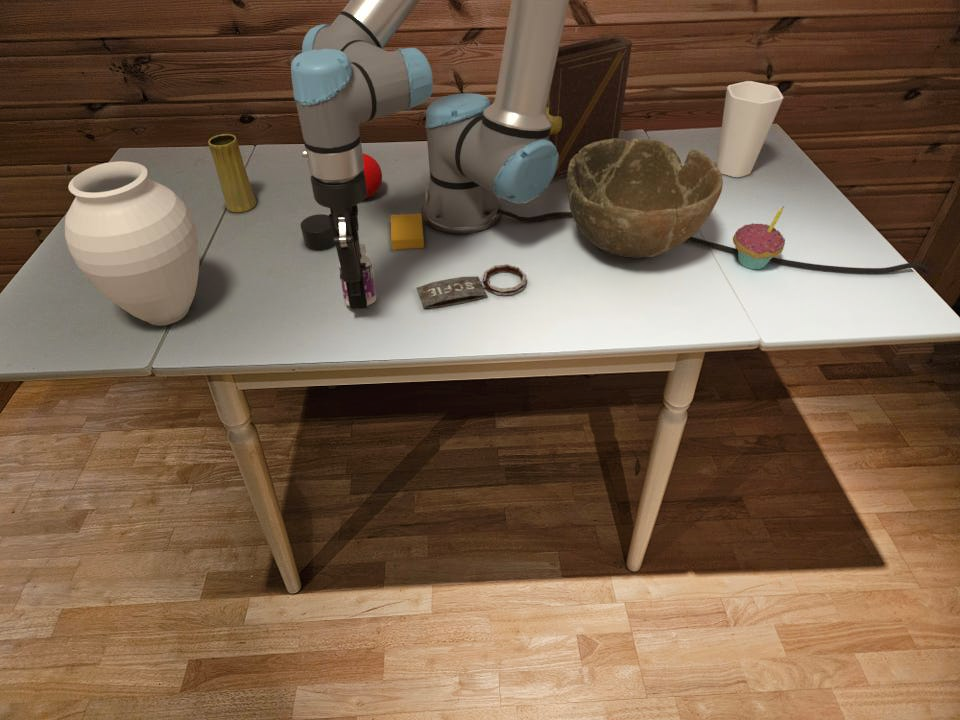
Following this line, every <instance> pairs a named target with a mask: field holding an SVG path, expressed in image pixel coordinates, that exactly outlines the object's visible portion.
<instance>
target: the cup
mask: <svg viewBox="0 0 960 720" xmlns="http://www.w3.org/2000/svg"><path fill="white" fill-rule="evenodd" d="M783 100H784V95H783V93H782V92H781V91H780V89H779V88H778V86H775V85H771V84H767V83H762V82H757V81H752V80H745V81H741V82H738V83H733V84H729V85H728V86H726V91H725V100H724V107H723V114H722V122H721V129H720V138H719V144H718V152H717V153H718V154H717V161H716V167H717V168H718V169H719V170H720V172H721V174H722V175H725V176H729V177H733V178H742V177H745V176H750V175H751V173H752V171H753V169H754V167H755V164H756V162H757V160H758V158H759V155H760V153H761V150H762V148H763V146H764V144H765V142H766V139H767V137H768V135H769V132H770V130H771V128H772V126H773V123H774V121H775V118H776V116H777V115H778V112H779V109H780V107H781V105H782V102H783Z"/></svg>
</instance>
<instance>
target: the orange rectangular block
mask: <svg viewBox="0 0 960 720" xmlns="http://www.w3.org/2000/svg"><path fill="white" fill-rule="evenodd" d="M390 242H391V243H390V244H391V250H405V249H407V250H408V249H419V248H421V249H422V248H423V249H424V248H425V239H424V227H423V215H422V213H421V212H420V213H408V214H407V213H406V214H392V215H390Z"/></svg>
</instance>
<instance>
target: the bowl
mask: <svg viewBox="0 0 960 720" xmlns="http://www.w3.org/2000/svg"><path fill="white" fill-rule="evenodd" d="M723 185H724V181H723V174H721V172H720V170H719V169H718V168H717V164H716V163H715V162H714V161H713V160H712V158H711V157H710V156H708V155H707V154H705V153H703V152H701V151H700V150H697V149H690V151H688V154H687V155H686V158H685V160H684V165H682V159H681V158H680V156H679V155H678V154H677V152H676V150H675V149H674V148H673V147H671V146H669V145H668V144H665V142H663V141H660V140H657V139H656V140H655V139H646V138H632V140H630V142H629V140H627V139H625V138H620V137H619V138H613V139H608V140H602V141H598V142H593V143H591V144H589V145H587V146H585V147H583V148H582V149H581V150H579V153H578V154H576V155H575V156H574V157H573V158H572V159H571V160H570V162H569V165H568V172H567V176H566V190H567V199H568V205H569V210H570V212H571V213H572V216H573V217H572V219H573V221H574V223H575V224H576V226H577V228H578V230H579V231H580V232H581V233H582V234H583V236H585V238H586V239H587V240H589V241H590V243H592V244H593V245H594V246H596V247H597V248H599V249H601V250H603V251H604V252H607V253H608V254H611V255H614V256H618V257H623V258H624V257H625V258H637V259H639V258H646V257H650V258H651V257H654V258H655V257H658V256H660V255H662V254H664V253H666V252H667V251H668V250H671V249H673V248H675V247H677V246H679V245H681V244H683V243H684V242H686V241H688V240H687V239H689V238H690V237H691V236H692V237H694V235H696V233H697V232H699V230H700V229H701V228H702V227H703V225H704V224H705V223H706V221H707V220H708V218H709V216H710V215H711V213H712V212H713V210H714V209H715V206H716V204H717V203H718V201H719V198H720V197H721V193H722V191H723Z"/></svg>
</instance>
